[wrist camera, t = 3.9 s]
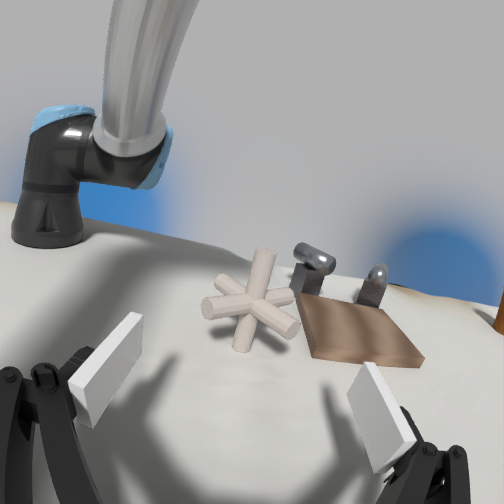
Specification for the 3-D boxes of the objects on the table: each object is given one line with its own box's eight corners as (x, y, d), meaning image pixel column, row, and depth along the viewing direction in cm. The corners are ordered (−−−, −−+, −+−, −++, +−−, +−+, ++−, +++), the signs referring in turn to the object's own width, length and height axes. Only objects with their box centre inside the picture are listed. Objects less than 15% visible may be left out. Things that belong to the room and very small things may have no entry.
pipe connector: (172, 329, 26) (187, 231, 24) (245, 315, 33) (266, 236, 30) (233, 394, 19) (266, 277, 17) (308, 360, 26) (342, 269, 24)
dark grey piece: (374, 318, 40) (391, 273, 39) (352, 310, 42) (368, 264, 40) (378, 307, 46) (392, 266, 45) (359, 299, 48) (373, 259, 46)
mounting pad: (311, 357, 27) (316, 346, 26) (295, 300, 41) (298, 292, 41) (419, 368, 27) (424, 358, 27) (379, 317, 42) (382, 309, 41)
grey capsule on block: (324, 304, 42) (340, 257, 40) (306, 305, 40) (322, 255, 38) (299, 286, 48) (312, 243, 46) (281, 286, 46) (293, 241, 44)
